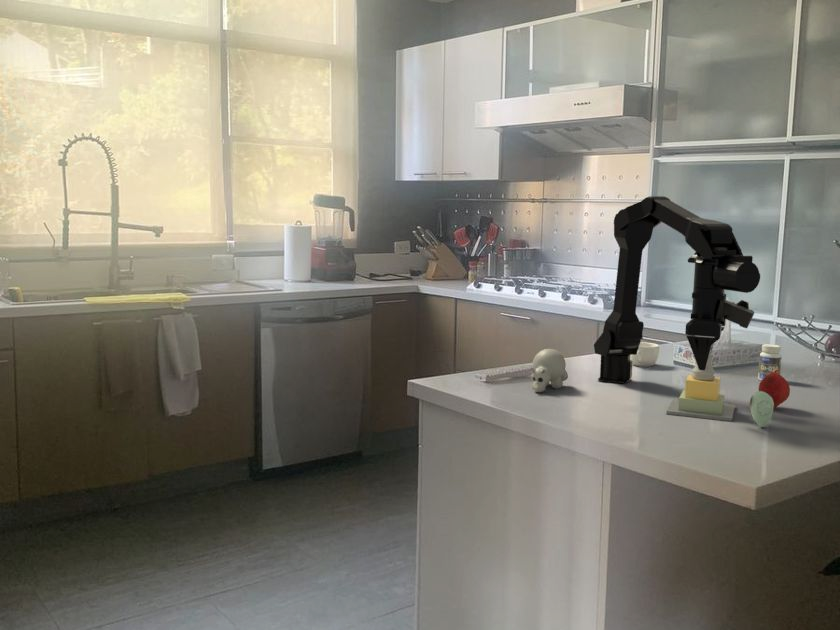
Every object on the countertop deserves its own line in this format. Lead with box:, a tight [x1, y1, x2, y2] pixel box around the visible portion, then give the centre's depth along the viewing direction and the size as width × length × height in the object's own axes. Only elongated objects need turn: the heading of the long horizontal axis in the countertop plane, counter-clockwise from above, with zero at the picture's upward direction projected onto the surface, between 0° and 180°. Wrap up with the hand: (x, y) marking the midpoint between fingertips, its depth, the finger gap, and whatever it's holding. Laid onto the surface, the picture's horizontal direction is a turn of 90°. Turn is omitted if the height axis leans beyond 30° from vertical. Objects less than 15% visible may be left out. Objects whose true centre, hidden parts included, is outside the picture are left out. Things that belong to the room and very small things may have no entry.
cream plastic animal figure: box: [530, 348, 569, 393], centre depth 178 cm, size 7×12×8 cm, turn 146°
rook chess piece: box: [691, 343, 716, 381], centre depth 159 cm, size 4×4×8 cm
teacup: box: [630, 341, 660, 368], centre depth 206 cm, size 10×8×5 cm
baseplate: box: [666, 389, 736, 422], centre depth 160 cm, size 12×12×3 cm
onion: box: [757, 369, 791, 409], centre depth 163 cm, size 6×6×8 cm
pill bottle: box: [757, 343, 782, 382], centre depth 190 cm, size 5×5×8 cm
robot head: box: [749, 390, 775, 428], centre depth 149 cm, size 8×4×7 cm, turn 157°
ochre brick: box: [684, 374, 721, 401], centre depth 160 cm, size 6×6×4 cm
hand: (703, 365), depth 159 cm, fingers open, 9 cm apart
